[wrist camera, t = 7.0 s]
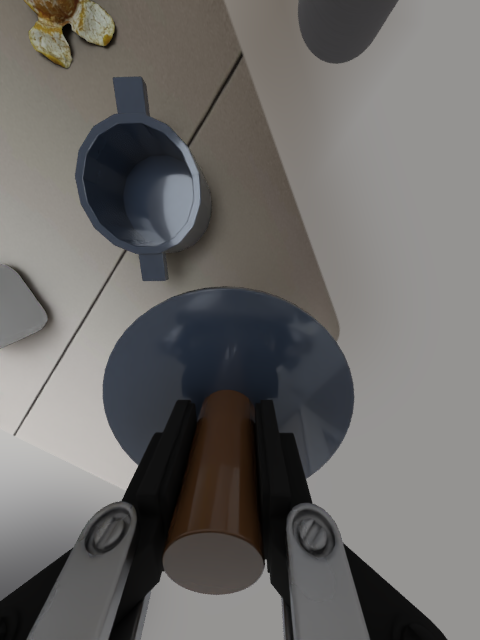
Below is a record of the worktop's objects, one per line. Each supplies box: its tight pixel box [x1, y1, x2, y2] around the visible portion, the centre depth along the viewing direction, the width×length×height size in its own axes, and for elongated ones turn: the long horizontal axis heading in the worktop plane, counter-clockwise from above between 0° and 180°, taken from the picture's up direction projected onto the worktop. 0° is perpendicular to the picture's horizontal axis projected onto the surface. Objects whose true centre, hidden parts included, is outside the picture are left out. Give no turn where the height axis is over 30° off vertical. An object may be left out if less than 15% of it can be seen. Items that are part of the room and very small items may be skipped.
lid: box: [103, 286, 354, 595], centre depth 9 cm, size 12×12×7 cm
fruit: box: [24, 0, 115, 68], centre depth 20 cm, size 8×8×4 cm
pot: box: [75, 77, 212, 281], centre depth 24 cm, size 11×16×8 cm
